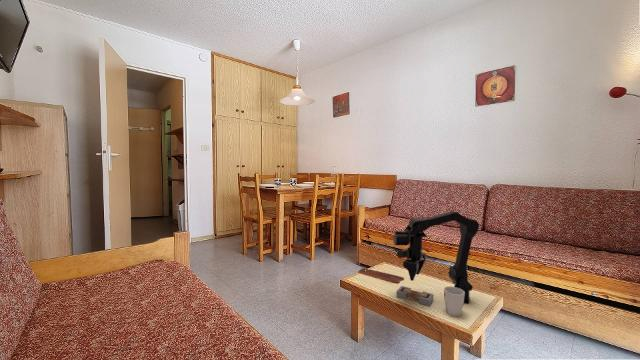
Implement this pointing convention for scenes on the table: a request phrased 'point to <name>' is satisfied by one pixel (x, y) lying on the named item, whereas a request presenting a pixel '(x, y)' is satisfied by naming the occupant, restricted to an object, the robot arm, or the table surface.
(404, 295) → the end cap
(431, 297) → the end cap
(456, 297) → the cup
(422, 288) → the table surface
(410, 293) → the slat
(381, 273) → the wooden tablet
